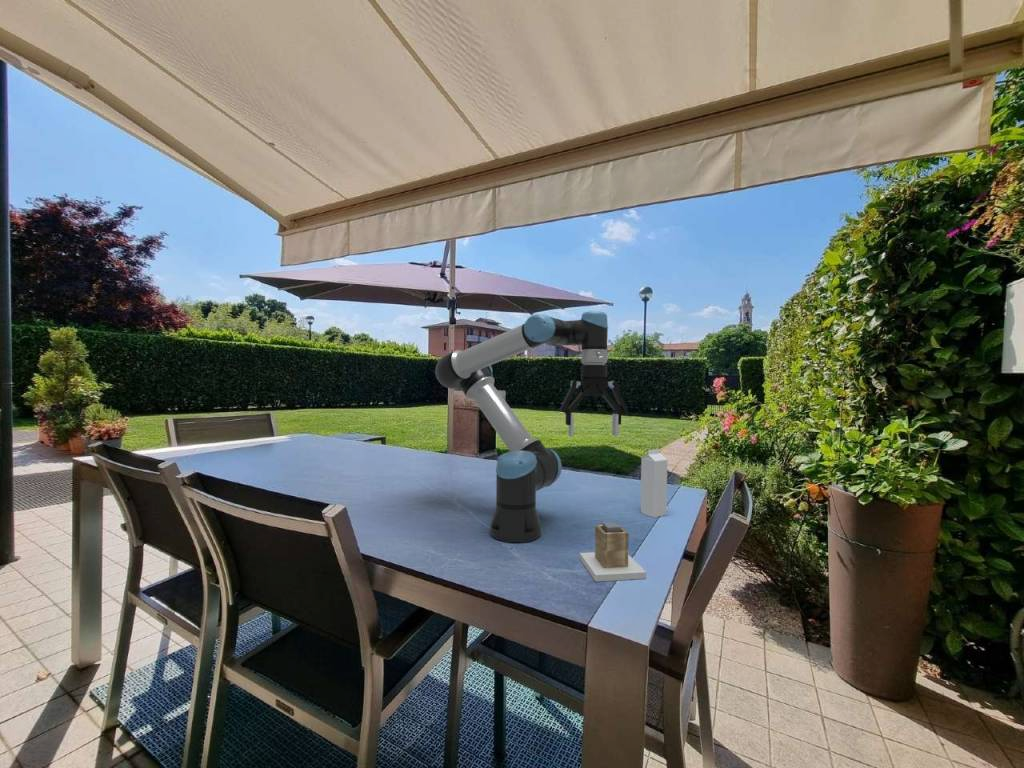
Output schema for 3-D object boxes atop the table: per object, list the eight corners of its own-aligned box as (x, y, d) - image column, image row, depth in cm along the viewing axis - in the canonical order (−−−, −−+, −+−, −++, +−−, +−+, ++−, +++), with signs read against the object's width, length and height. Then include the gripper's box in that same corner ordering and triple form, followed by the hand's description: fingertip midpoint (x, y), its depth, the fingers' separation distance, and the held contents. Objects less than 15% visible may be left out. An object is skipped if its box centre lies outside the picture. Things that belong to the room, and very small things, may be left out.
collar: (603, 568, 98) (604, 534, 98) (595, 557, 104) (595, 525, 104) (628, 566, 99) (628, 533, 98) (618, 556, 104) (618, 524, 104)
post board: (595, 581, 94) (596, 535, 94) (579, 558, 106) (580, 517, 106) (646, 578, 96) (646, 533, 96) (624, 556, 108) (625, 515, 108)
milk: (666, 515, 141) (668, 450, 140) (654, 518, 138) (655, 451, 137) (652, 510, 146) (653, 447, 146) (640, 512, 143) (641, 448, 143)
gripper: (556, 363, 118) (555, 438, 119) (639, 364, 122) (638, 437, 122) (550, 364, 126) (549, 434, 126) (628, 365, 129) (628, 433, 130)
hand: (593, 436), depth 124 cm, fingers open, 13 cm apart
